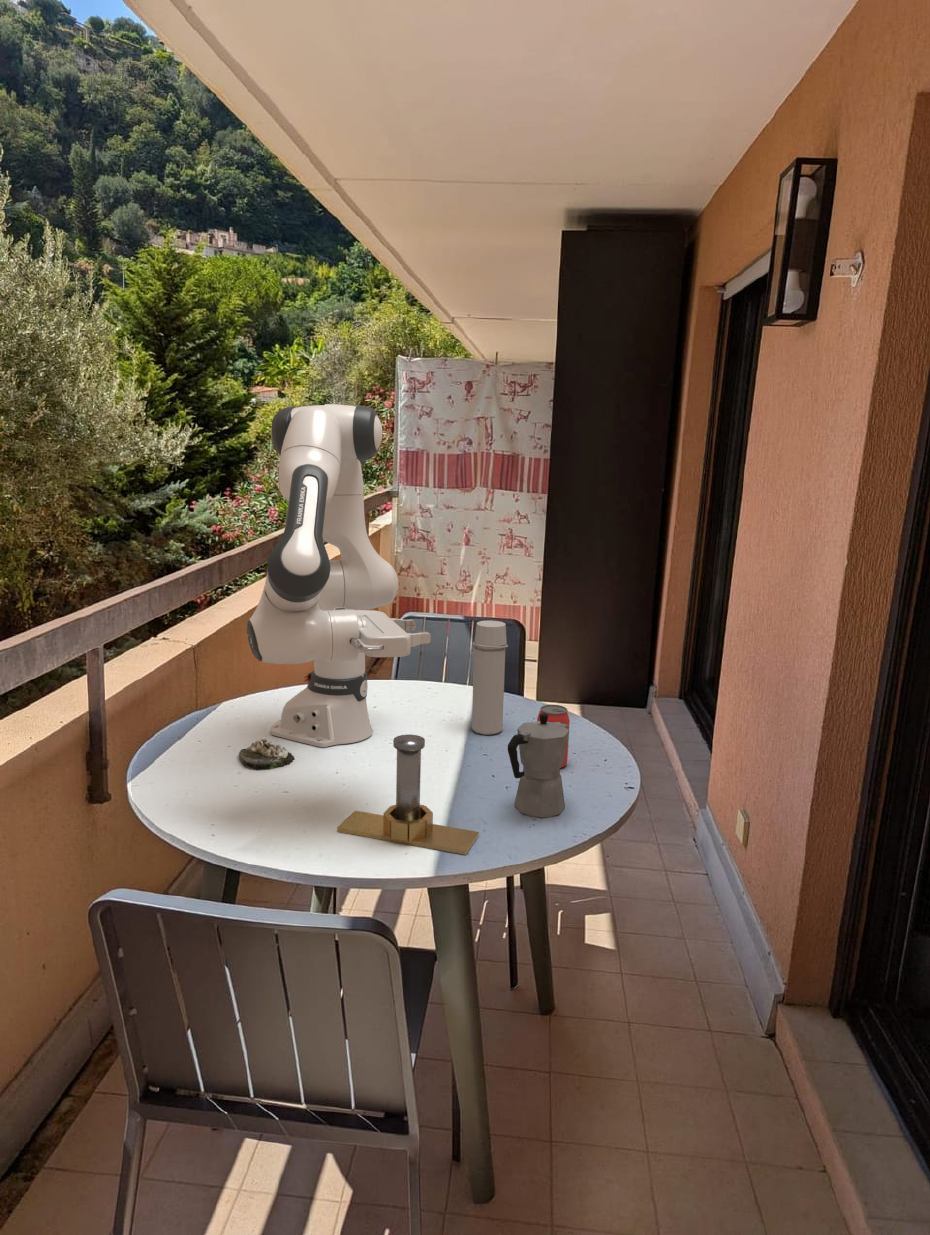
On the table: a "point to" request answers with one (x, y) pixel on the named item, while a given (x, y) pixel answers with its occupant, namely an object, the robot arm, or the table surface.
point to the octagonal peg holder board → (409, 830)
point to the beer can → (557, 720)
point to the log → (265, 756)
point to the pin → (408, 776)
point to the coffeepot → (539, 766)
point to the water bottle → (488, 677)
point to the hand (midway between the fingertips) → (422, 630)
